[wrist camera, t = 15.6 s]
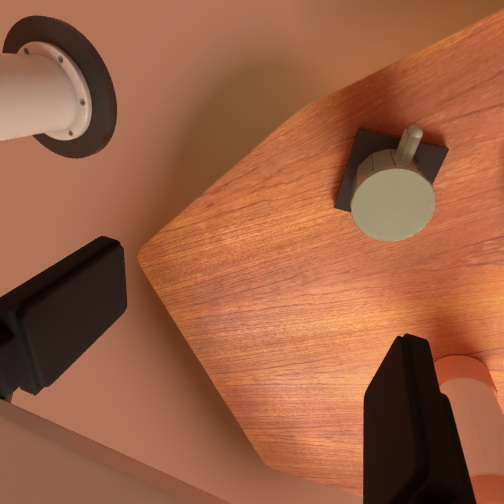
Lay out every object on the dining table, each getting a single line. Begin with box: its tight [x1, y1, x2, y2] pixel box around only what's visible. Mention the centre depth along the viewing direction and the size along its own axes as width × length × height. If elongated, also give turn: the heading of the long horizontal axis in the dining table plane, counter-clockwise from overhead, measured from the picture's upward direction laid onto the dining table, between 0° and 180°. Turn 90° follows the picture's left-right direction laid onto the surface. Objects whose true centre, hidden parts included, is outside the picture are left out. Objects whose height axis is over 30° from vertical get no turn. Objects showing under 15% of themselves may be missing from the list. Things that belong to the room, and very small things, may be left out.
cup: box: [350, 122, 435, 241], centre depth 31 cm, size 7×10×8 cm
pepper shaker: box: [434, 355, 504, 504], centre depth 37 cm, size 7×7×19 cm
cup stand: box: [334, 128, 449, 212], centre depth 32 cm, size 9×9×8 cm
